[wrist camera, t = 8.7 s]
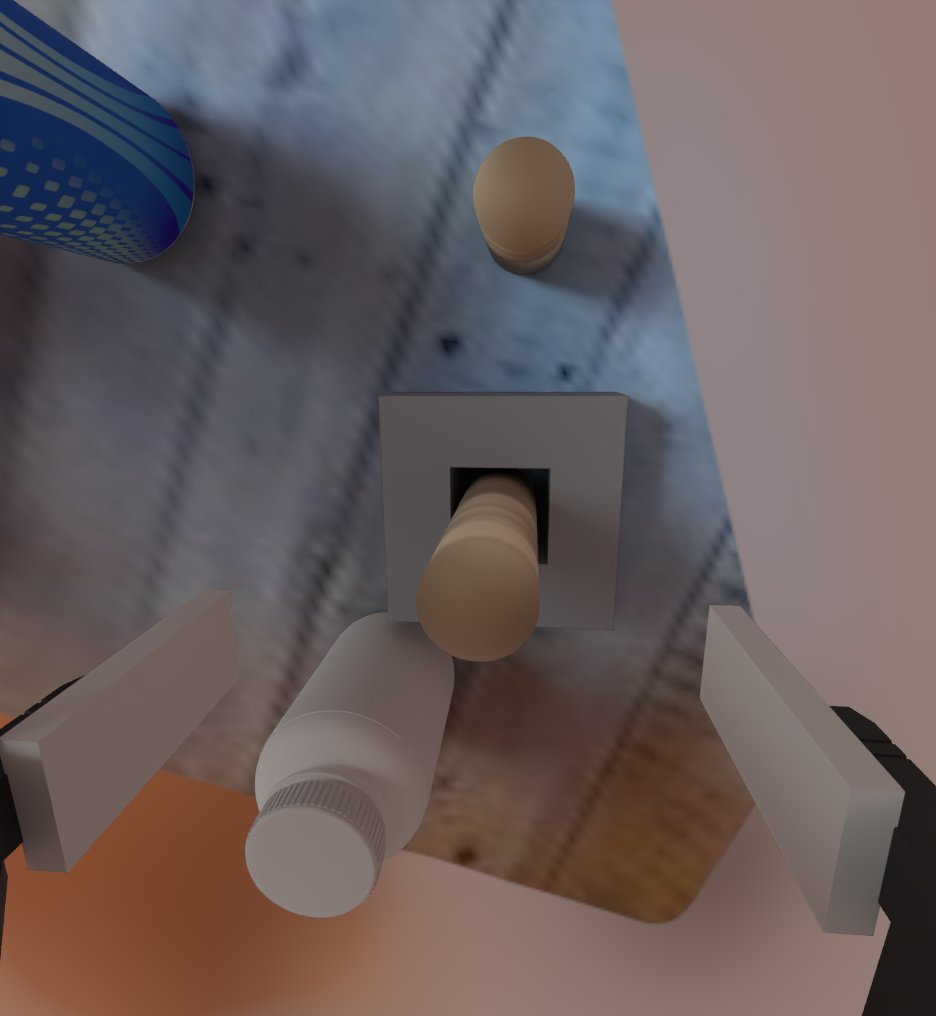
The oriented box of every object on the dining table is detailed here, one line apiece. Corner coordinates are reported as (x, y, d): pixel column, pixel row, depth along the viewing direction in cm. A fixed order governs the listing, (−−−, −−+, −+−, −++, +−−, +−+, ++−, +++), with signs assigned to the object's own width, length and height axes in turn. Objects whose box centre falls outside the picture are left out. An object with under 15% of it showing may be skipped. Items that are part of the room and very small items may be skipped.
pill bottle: (480, 693, 36) (446, 914, 22) (372, 737, 38) (274, 969, 23) (420, 587, 35) (341, 746, 20) (311, 637, 36) (166, 818, 22)
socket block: (403, 592, 35) (388, 620, 31) (396, 392, 32) (378, 396, 28) (604, 599, 34) (613, 630, 30) (615, 392, 31) (627, 396, 27)
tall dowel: (466, 464, 32) (413, 544, 18) (536, 465, 32) (541, 548, 18) (466, 531, 33) (417, 658, 19) (535, 533, 33) (538, 664, 19)
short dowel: (486, 275, 30) (473, 250, 23) (486, 191, 29) (472, 139, 22) (563, 273, 30) (572, 247, 23) (566, 188, 29) (576, 134, 22)
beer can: (187, 80, 29) (-198, -239, 14) (224, 255, 31) (-77, 148, 16) (42, 111, 30) (-466, -152, 15) (86, 278, 32) (-323, 199, 17)
